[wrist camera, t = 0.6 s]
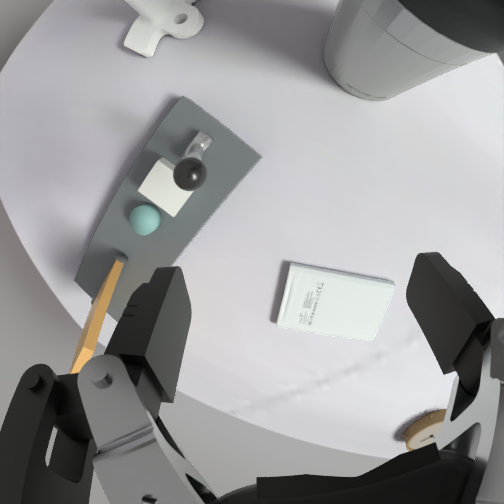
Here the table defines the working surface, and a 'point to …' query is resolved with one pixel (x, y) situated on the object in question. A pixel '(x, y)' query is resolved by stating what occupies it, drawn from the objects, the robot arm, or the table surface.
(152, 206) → the push button
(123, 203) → the panel
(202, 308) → the table surface
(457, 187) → the table surface
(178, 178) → the toggle lever
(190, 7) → the joystick
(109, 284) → the tan flat slab
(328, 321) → the external hard drive
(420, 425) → the alarm clock
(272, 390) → the table surface
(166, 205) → the block
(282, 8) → the table surface
